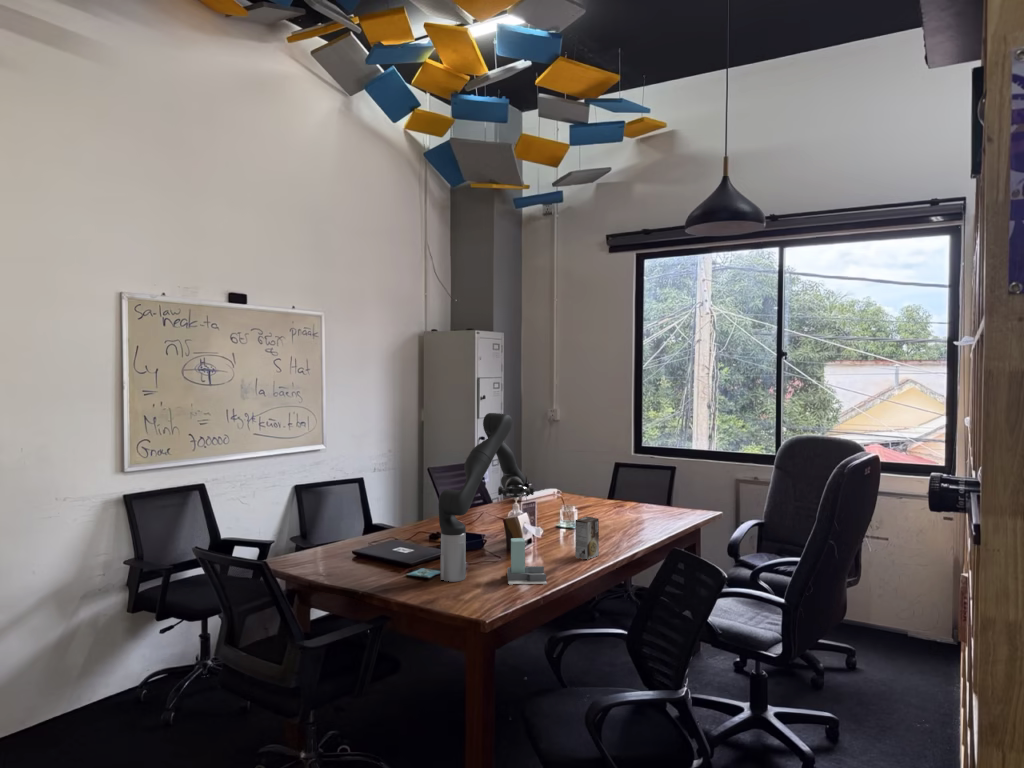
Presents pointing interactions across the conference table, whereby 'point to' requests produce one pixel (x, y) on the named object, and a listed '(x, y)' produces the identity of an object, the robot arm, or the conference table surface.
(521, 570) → the teal post
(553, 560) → the conference table surface
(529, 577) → the keyhole guide
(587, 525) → the coffee box
